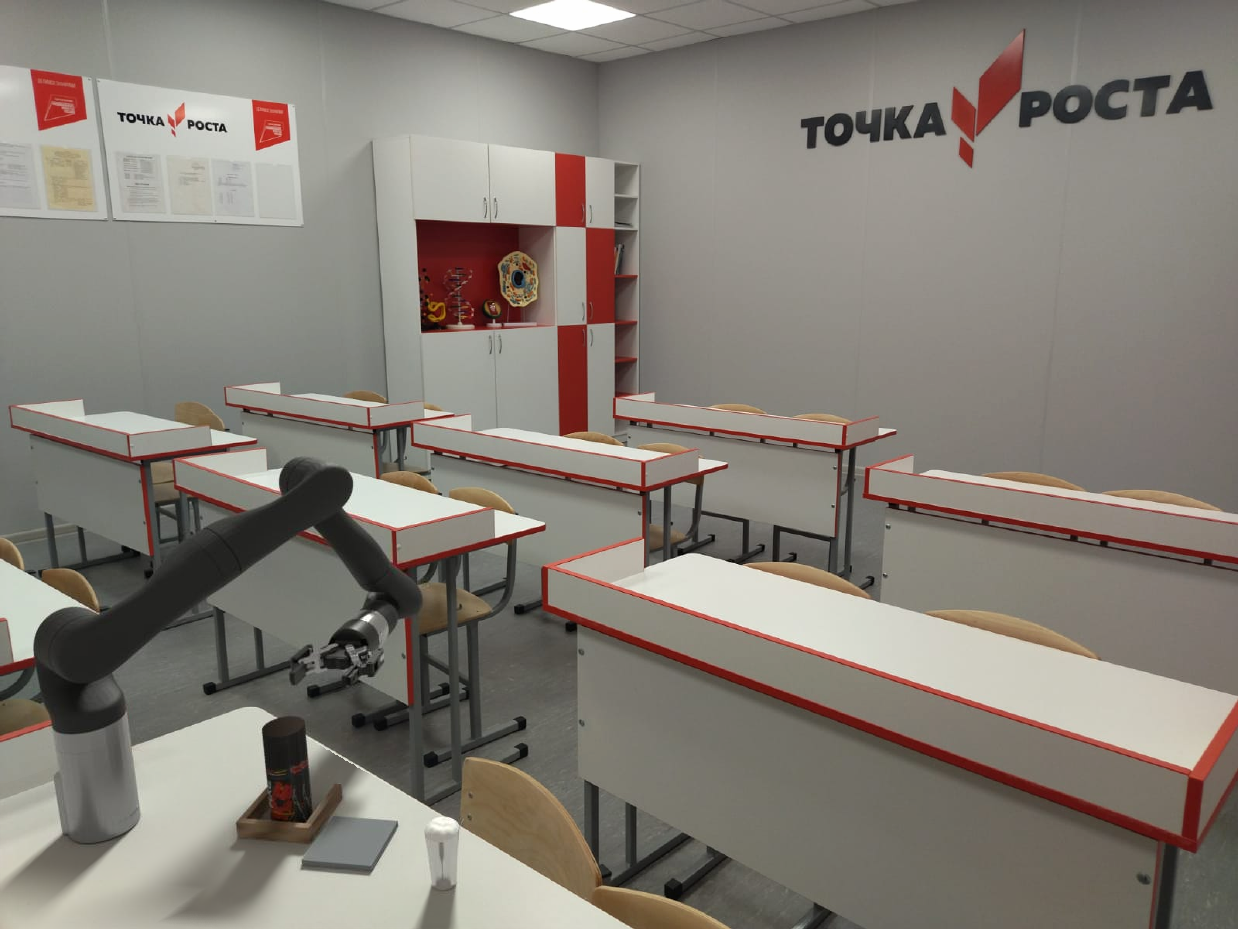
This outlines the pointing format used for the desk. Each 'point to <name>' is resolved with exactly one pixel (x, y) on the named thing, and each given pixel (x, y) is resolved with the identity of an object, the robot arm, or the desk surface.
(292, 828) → the walnut bay
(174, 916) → the desk surface
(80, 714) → the robot arm
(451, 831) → the milkshake
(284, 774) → the deodorant
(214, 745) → the desk surface
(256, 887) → the desk surface
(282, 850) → the desk surface
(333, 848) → the pad
